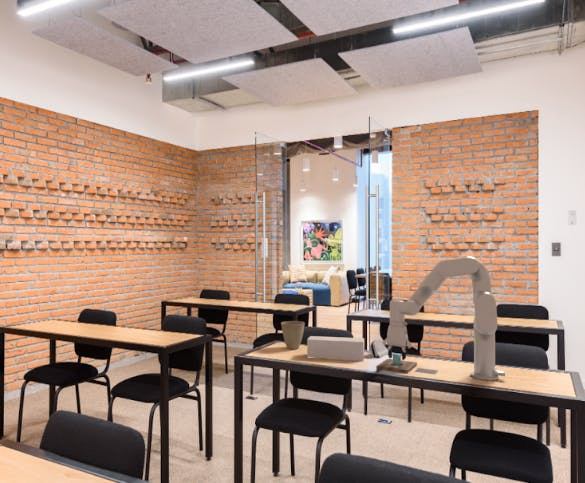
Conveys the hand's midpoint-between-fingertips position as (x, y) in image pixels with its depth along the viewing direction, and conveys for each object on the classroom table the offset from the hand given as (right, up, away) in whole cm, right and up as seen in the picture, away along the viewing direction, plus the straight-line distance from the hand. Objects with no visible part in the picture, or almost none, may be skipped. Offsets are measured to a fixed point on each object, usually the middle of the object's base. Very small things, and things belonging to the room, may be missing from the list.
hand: (397, 358), depth 235 cm
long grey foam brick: (-29, -7, +28) cm, 41 cm away
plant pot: (-54, -7, +51) cm, 74 cm away
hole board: (0, -6, 0) cm, 6 cm away
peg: (0, -6, 0) cm, 6 cm away
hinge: (-3, -7, +34) cm, 35 cm away
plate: (+13, -6, -7) cm, 16 cm away
